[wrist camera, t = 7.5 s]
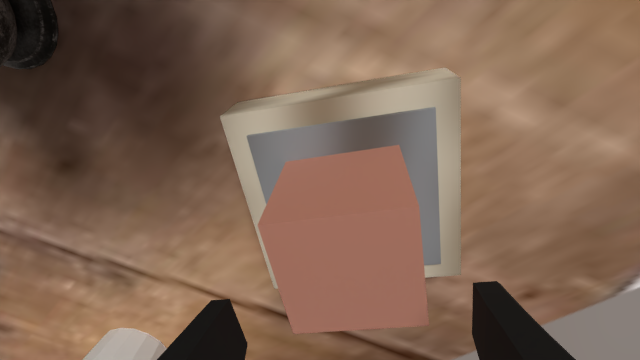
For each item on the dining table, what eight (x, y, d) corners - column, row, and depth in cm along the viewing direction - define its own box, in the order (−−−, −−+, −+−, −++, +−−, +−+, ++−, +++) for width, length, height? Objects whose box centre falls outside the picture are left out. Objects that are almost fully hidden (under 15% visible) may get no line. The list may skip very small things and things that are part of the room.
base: (445, 67, 15) (462, 78, 13) (448, 244, 20) (461, 277, 17) (237, 102, 17) (218, 117, 15) (282, 259, 21) (273, 291, 19)
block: (399, 144, 14) (419, 205, 10) (408, 240, 16) (428, 325, 12) (285, 161, 15) (257, 225, 11) (309, 250, 17) (293, 333, 13)
